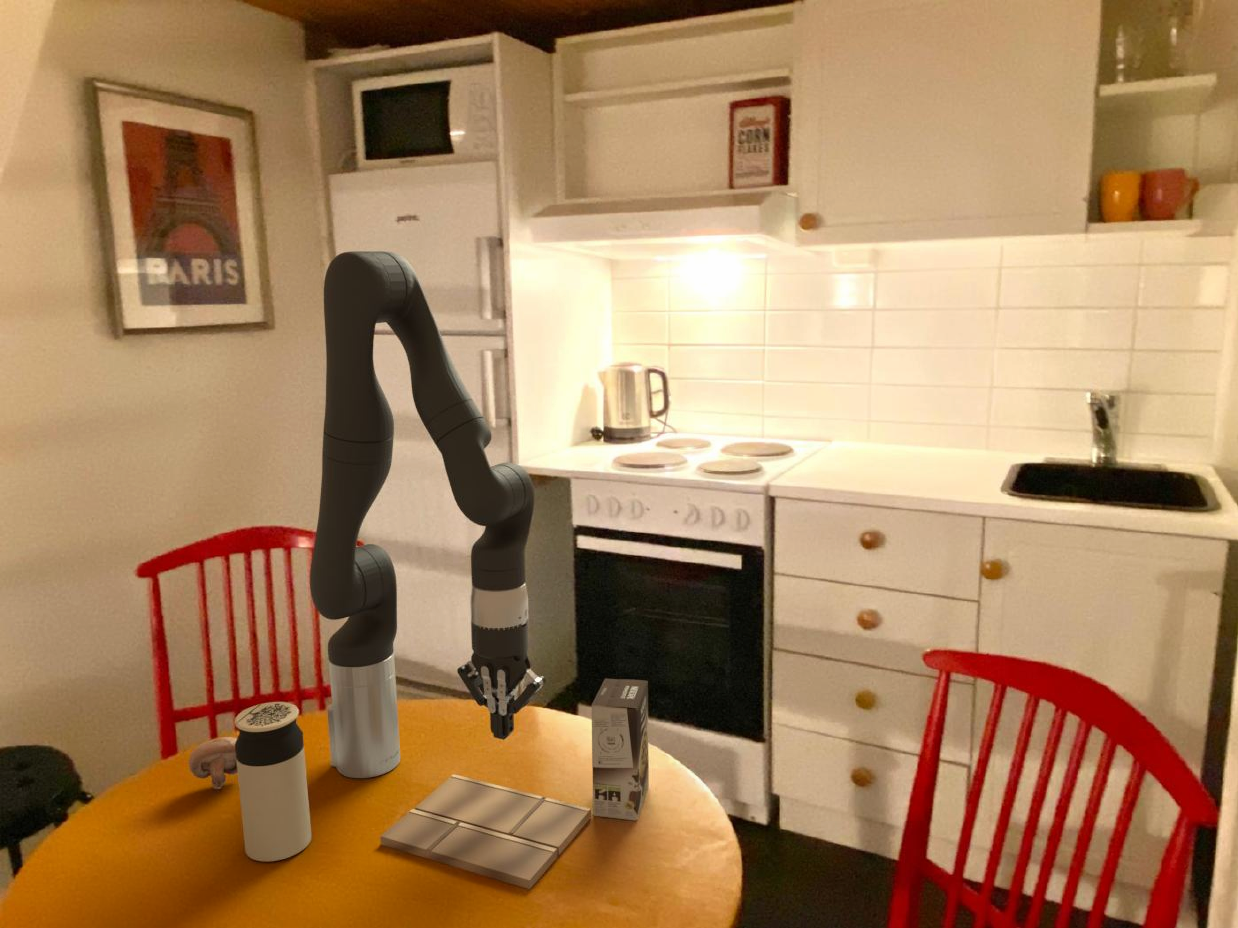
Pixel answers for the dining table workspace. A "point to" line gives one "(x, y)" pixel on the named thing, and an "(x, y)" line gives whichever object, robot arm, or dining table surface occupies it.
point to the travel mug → (272, 781)
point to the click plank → (507, 811)
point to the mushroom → (214, 760)
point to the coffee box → (620, 748)
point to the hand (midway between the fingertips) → (502, 736)
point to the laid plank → (470, 848)
